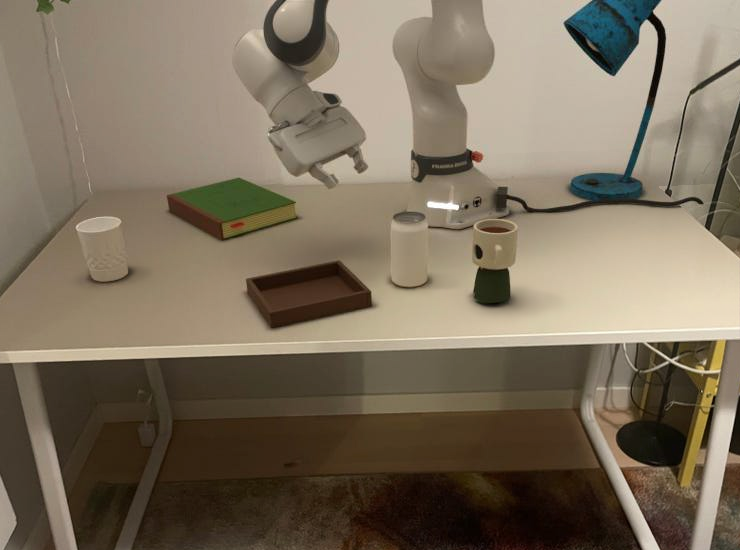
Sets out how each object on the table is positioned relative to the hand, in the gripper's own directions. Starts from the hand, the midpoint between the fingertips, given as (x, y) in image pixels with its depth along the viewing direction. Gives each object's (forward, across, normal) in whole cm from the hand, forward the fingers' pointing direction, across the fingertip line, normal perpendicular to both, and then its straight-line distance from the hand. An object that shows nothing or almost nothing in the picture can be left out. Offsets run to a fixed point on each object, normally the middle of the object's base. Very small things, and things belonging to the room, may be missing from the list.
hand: (349, 178), depth 131 cm
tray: (+12, -16, +11) cm, 23 cm away
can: (+21, 0, +4) cm, 21 cm away
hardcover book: (-16, +10, +40) cm, 44 cm away
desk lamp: (+31, +63, -5) cm, 70 cm away
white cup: (-16, -25, +39) cm, 49 cm away
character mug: (+32, 0, -8) cm, 33 cm away
